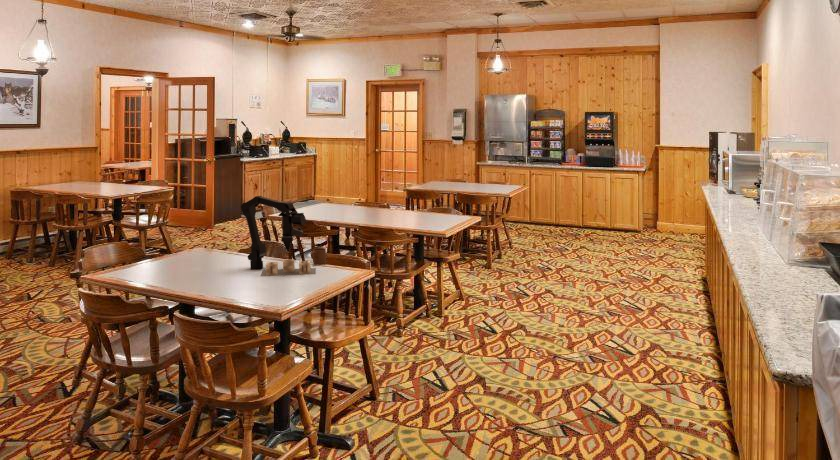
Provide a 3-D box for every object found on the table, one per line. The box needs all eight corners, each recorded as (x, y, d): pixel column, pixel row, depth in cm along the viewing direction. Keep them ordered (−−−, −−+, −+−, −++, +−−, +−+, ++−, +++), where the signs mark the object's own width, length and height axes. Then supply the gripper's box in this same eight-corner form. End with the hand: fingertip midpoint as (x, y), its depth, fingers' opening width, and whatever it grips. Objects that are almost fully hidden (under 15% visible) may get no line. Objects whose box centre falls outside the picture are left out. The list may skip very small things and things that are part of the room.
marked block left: (266, 275, 336) (265, 264, 335) (267, 272, 342) (266, 262, 341) (277, 274, 337) (276, 263, 336) (277, 272, 343) (277, 261, 342)
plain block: (283, 272, 343) (282, 261, 342) (283, 269, 349) (283, 259, 348) (294, 271, 344) (293, 261, 343) (294, 269, 350) (294, 259, 349)
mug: (316, 267, 358) (316, 251, 357) (306, 266, 361) (305, 250, 360) (328, 263, 369) (328, 248, 367) (318, 262, 372) (317, 247, 371)
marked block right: (299, 274, 339) (298, 263, 338) (299, 271, 345) (299, 260, 344) (310, 273, 340) (309, 262, 339) (310, 271, 346) (310, 260, 345)
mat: (260, 277, 334) (260, 276, 334) (262, 271, 349) (262, 269, 349) (315, 275, 339) (315, 274, 338) (315, 269, 354) (315, 268, 354)
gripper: (301, 226, 335) (302, 254, 337) (302, 221, 353) (303, 248, 355) (280, 226, 333) (281, 254, 335) (282, 222, 351) (283, 248, 354)
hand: (288, 251), depth 345 cm, fingers closed
